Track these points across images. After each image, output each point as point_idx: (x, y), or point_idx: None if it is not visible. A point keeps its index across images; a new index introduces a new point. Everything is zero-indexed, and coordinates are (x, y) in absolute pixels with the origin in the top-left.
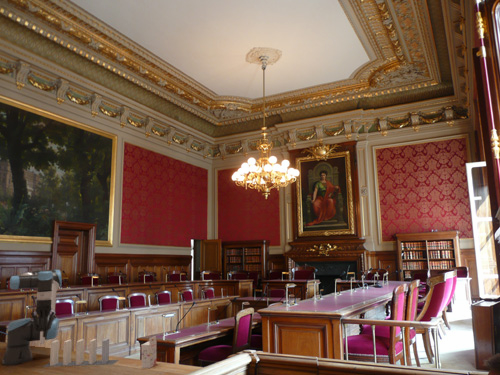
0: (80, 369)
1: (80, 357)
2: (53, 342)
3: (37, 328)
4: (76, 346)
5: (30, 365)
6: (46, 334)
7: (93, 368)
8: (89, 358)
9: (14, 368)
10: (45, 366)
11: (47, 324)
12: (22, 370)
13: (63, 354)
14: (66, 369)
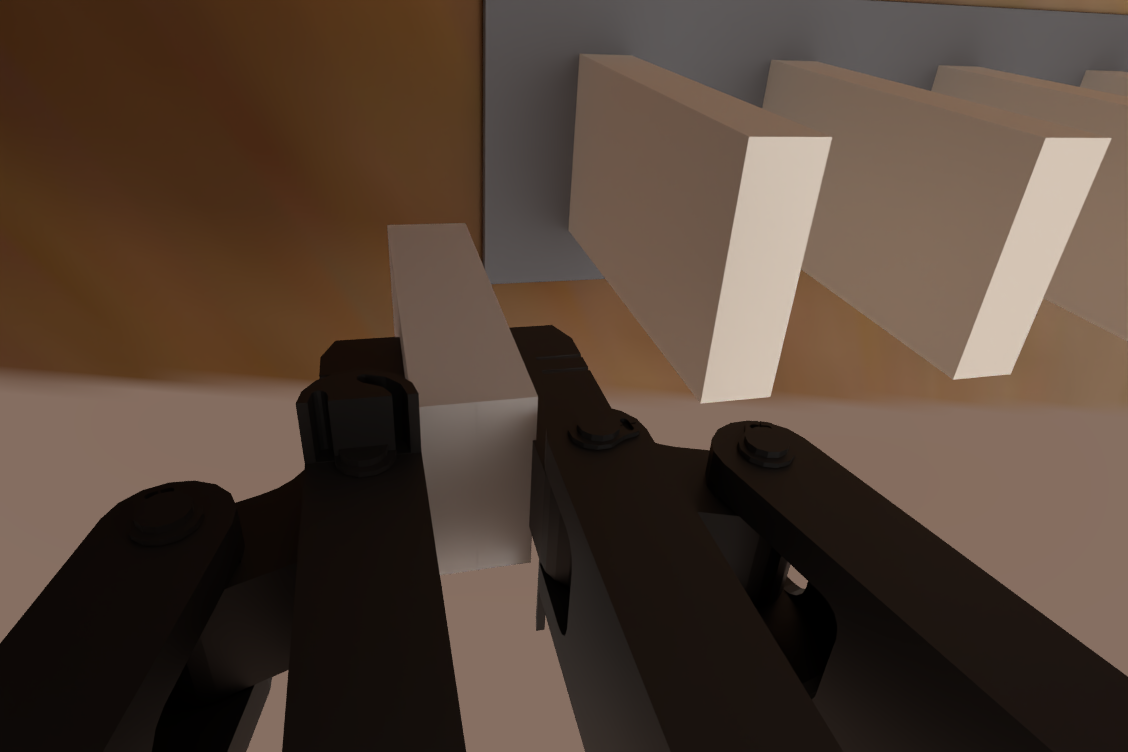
0: (937, 371)
1: None
2: (754, 396)
3: (262, 690)
4: (1084, 318)
5: (168, 100)
6: (581, 370)
7: (1048, 343)
8: None
9: (8, 275)
10: (523, 270)
11: (748, 600)
12: (260, 386)
13: (819, 280)
14: (805, 365)
